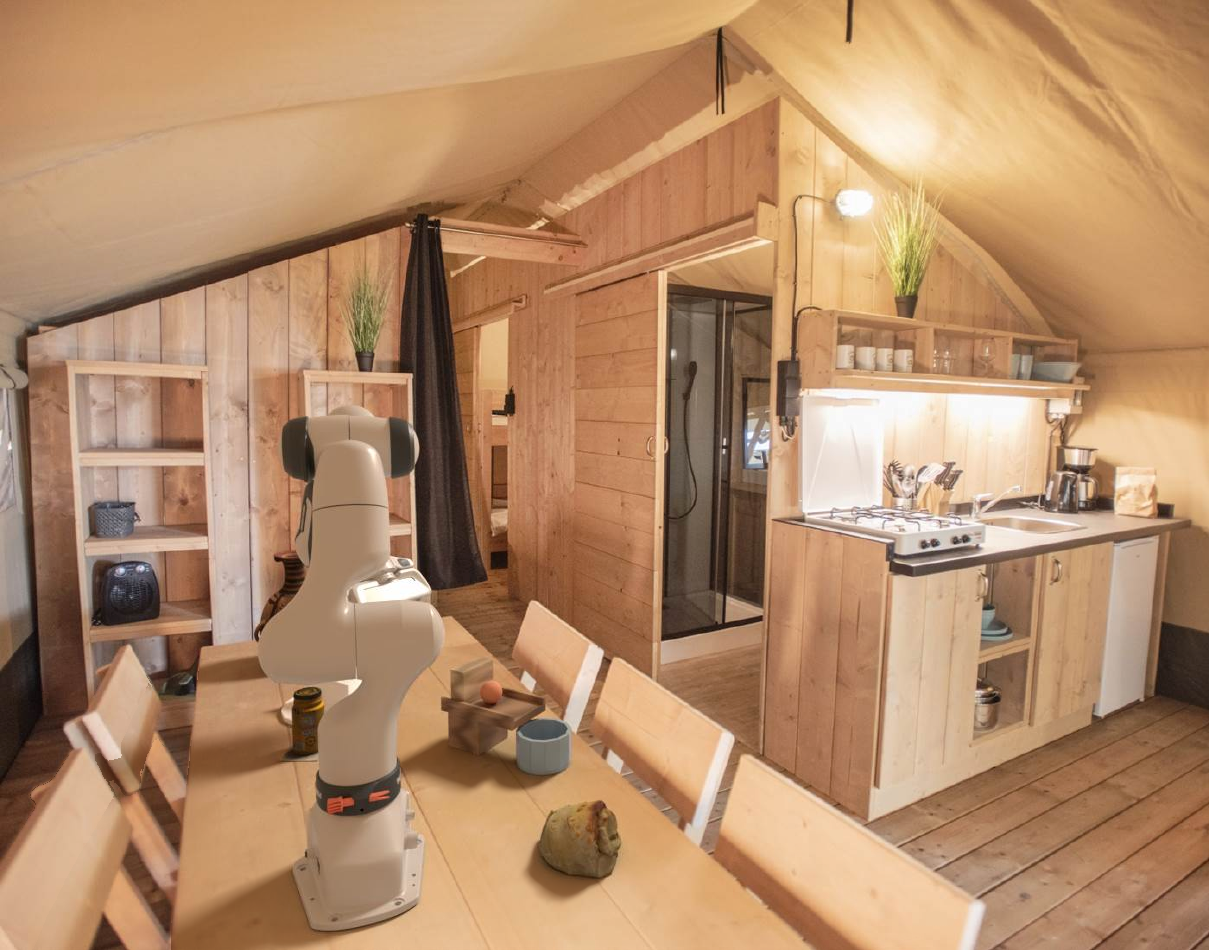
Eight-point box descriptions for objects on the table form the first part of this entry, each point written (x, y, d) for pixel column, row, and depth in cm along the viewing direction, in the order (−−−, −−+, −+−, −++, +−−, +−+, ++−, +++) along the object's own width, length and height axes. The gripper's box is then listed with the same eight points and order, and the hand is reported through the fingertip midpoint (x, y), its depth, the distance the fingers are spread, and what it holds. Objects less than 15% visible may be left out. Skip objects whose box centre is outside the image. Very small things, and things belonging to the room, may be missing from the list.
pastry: (634, 873, 103) (634, 821, 102) (550, 890, 99) (550, 836, 99) (605, 821, 116) (605, 774, 116) (530, 834, 113) (530, 786, 112)
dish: (412, 688, 173) (411, 643, 172) (368, 733, 148) (367, 681, 147) (317, 684, 176) (315, 640, 175) (258, 728, 151) (256, 677, 150)
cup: (578, 769, 133) (578, 736, 132) (525, 779, 129) (525, 745, 128) (560, 745, 142) (560, 714, 142) (511, 754, 138) (510, 723, 138)
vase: (330, 645, 204) (327, 543, 201) (346, 664, 189) (343, 554, 187) (248, 660, 192) (244, 551, 189) (259, 680, 177) (254, 563, 175)
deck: (441, 746, 142) (441, 697, 141) (477, 726, 151) (476, 680, 150) (512, 769, 133) (511, 717, 132) (545, 746, 142) (545, 697, 141)
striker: (450, 703, 141) (450, 669, 141) (480, 688, 149) (480, 656, 148) (464, 707, 139) (463, 672, 139) (493, 691, 147) (492, 659, 147)
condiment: (332, 741, 144) (331, 684, 143) (317, 761, 136) (315, 701, 135) (296, 741, 144) (294, 684, 143) (279, 761, 136) (276, 701, 135)
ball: (504, 705, 140) (504, 683, 140) (482, 708, 139) (482, 686, 138) (499, 697, 144) (499, 676, 144) (478, 700, 143) (477, 679, 142)
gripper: (343, 574, 146) (377, 628, 142) (416, 557, 164) (448, 605, 160) (330, 593, 149) (363, 646, 145) (403, 574, 166) (434, 621, 162)
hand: (408, 624), depth 152 cm, fingers closed
